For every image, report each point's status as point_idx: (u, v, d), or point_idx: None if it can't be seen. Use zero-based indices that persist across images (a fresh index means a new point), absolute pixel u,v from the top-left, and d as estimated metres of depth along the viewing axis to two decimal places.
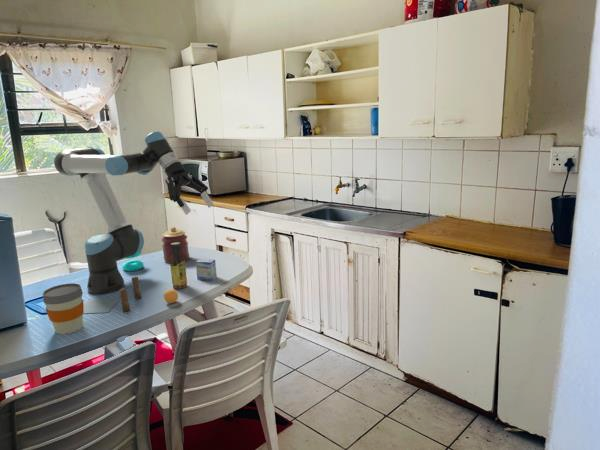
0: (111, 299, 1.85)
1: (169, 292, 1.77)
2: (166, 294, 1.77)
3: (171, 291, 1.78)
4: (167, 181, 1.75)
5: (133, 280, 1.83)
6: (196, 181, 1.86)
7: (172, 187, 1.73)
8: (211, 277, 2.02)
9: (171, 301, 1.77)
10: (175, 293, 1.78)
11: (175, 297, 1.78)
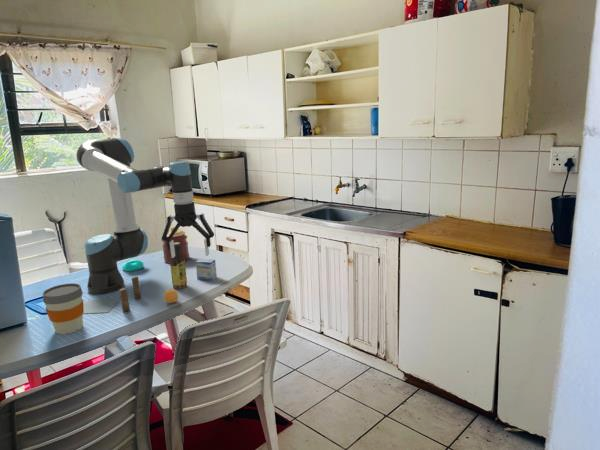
0: (111, 299, 1.85)
1: (169, 292, 1.77)
2: (166, 294, 1.77)
3: (171, 291, 1.78)
4: None
5: (133, 280, 1.83)
6: None
7: (165, 229, 1.72)
8: (211, 277, 2.02)
9: (171, 301, 1.77)
10: (175, 293, 1.78)
11: (175, 297, 1.78)
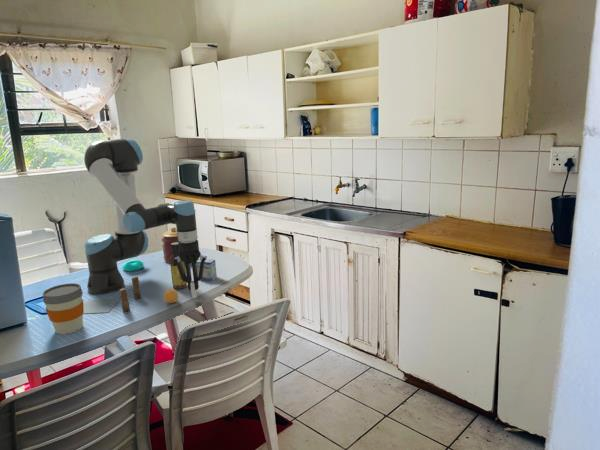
0: (111, 299, 1.85)
1: (169, 292, 1.77)
2: (166, 294, 1.77)
3: (171, 291, 1.78)
4: None
5: (133, 280, 1.83)
6: (200, 266, 1.76)
7: (180, 271, 1.75)
8: (211, 277, 2.02)
9: (171, 301, 1.77)
10: (175, 293, 1.78)
11: (175, 297, 1.78)
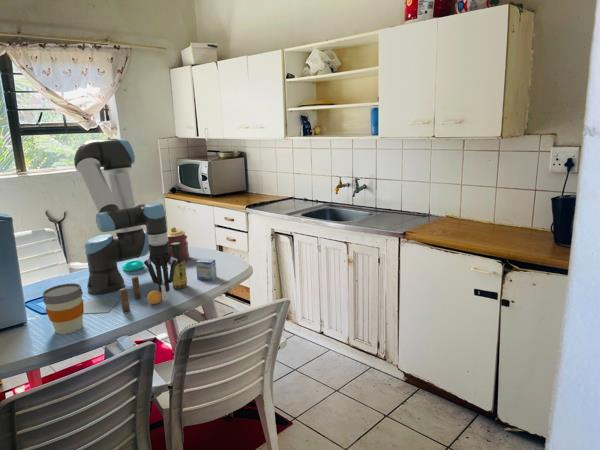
0: (111, 299, 1.85)
1: (148, 300, 1.78)
2: (151, 303, 1.78)
3: None
4: None
5: (133, 280, 1.83)
6: (170, 269, 1.76)
7: (150, 273, 1.76)
8: (211, 277, 2.02)
9: (154, 296, 1.77)
10: (148, 294, 1.78)
11: (150, 294, 1.77)
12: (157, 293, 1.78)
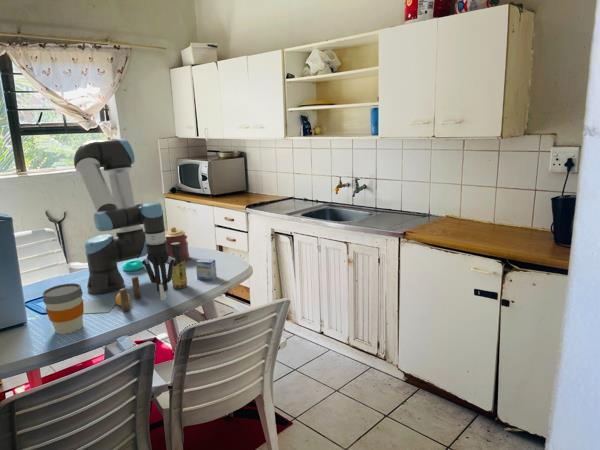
0: (111, 299, 1.85)
1: (119, 295, 1.77)
2: (116, 298, 1.77)
3: None
4: None
5: (133, 280, 1.83)
6: None
7: (148, 272, 1.75)
8: (211, 277, 2.02)
9: None
10: None
11: None
12: None
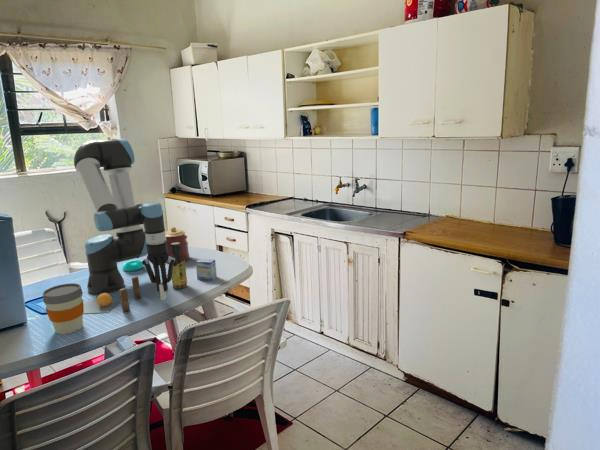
0: None
1: (102, 306, 1.78)
2: (105, 305, 1.78)
3: None
4: None
5: (133, 280, 1.83)
6: None
7: (148, 272, 1.75)
8: (211, 277, 2.02)
9: (100, 298, 1.77)
10: None
11: (97, 300, 1.77)
12: (100, 295, 1.78)
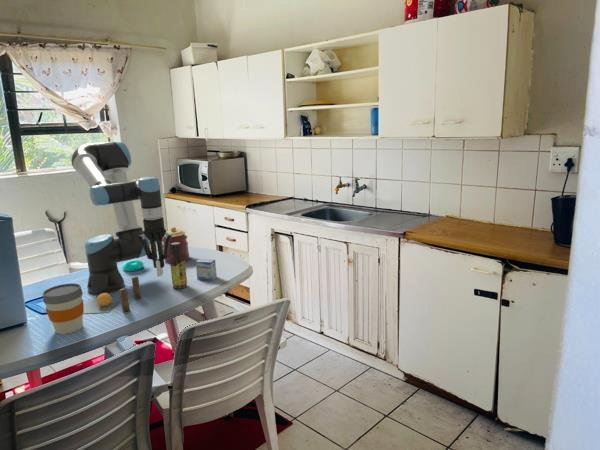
0: None
1: (102, 306, 1.78)
2: (105, 305, 1.78)
3: None
4: None
5: (133, 280, 1.83)
6: None
7: (145, 248, 1.73)
8: (211, 277, 2.02)
9: (100, 298, 1.77)
10: None
11: (97, 300, 1.77)
12: (100, 295, 1.78)
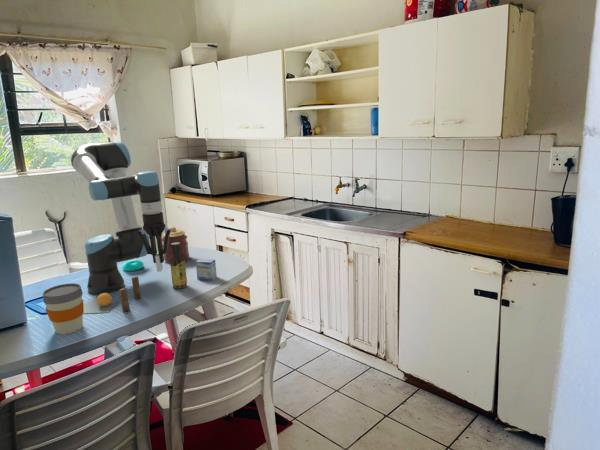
0: None
1: (102, 306, 1.78)
2: (105, 305, 1.78)
3: None
4: None
5: (133, 280, 1.83)
6: (165, 239, 1.73)
7: (144, 243, 1.73)
8: (211, 277, 2.02)
9: (100, 298, 1.77)
10: None
11: (97, 300, 1.77)
12: (100, 295, 1.78)
